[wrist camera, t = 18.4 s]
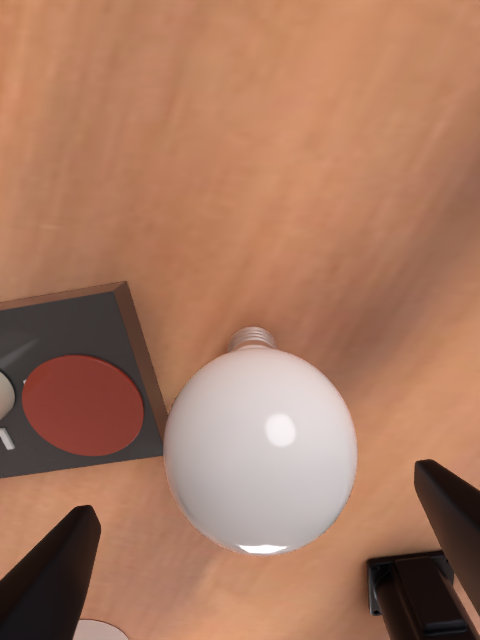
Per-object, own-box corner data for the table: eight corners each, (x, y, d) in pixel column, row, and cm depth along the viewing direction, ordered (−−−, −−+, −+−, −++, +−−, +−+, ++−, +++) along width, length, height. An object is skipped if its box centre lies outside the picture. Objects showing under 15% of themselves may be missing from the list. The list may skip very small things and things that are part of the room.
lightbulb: (325, 310, 18) (445, 470, 7) (283, 403, 20) (329, 627, 9) (214, 273, 17) (172, 393, 7) (183, 374, 19) (115, 582, 9)
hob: (172, 431, 20) (165, 457, 18) (-11, 458, 21) (-37, 485, 19) (126, 280, 17) (111, 292, 15) (-92, 318, 18) (-135, 334, 16)
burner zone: (157, 445, 18) (156, 447, 18) (50, 460, 19) (48, 463, 19) (124, 345, 16) (123, 347, 16) (3, 364, 16) (0, 366, 16)
